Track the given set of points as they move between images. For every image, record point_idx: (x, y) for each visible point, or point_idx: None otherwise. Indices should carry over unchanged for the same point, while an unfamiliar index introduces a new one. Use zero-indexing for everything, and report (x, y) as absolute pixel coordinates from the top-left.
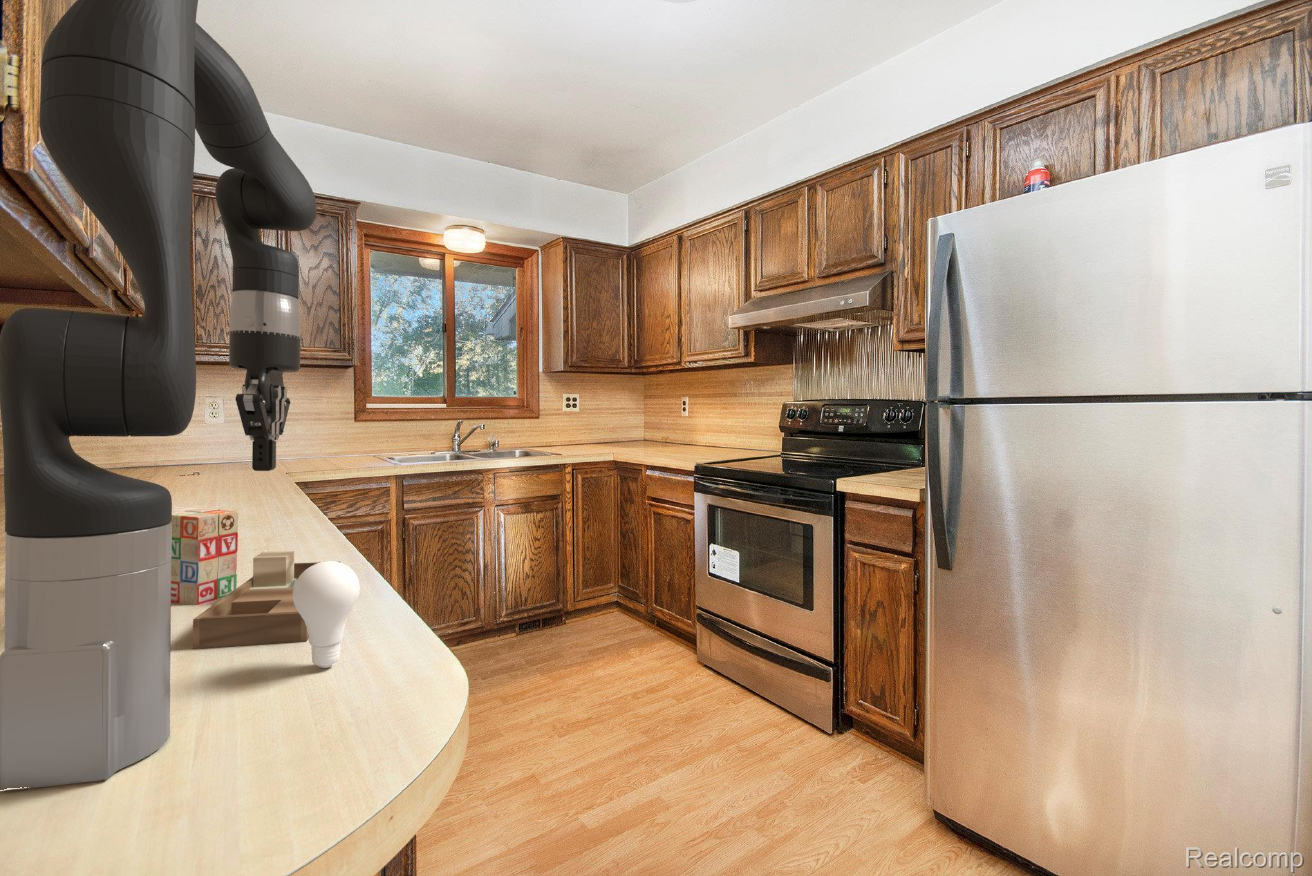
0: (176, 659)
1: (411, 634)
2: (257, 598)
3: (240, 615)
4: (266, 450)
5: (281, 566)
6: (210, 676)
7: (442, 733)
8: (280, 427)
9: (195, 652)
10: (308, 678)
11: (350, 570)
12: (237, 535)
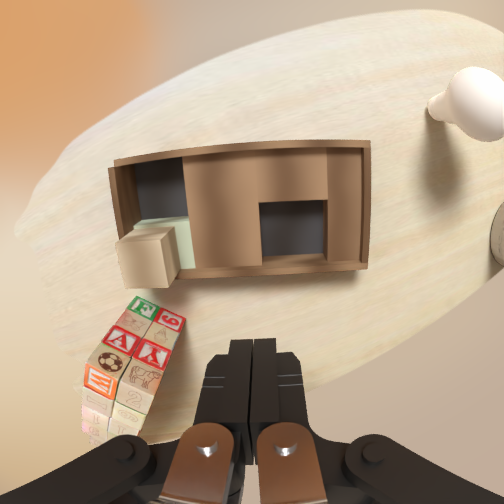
0: (382, 257)
1: (346, 29)
2: (246, 239)
3: (366, 221)
4: (304, 398)
5: (166, 241)
6: (432, 208)
7: None
8: (140, 472)
9: None
10: None
11: (495, 75)
12: (103, 339)
